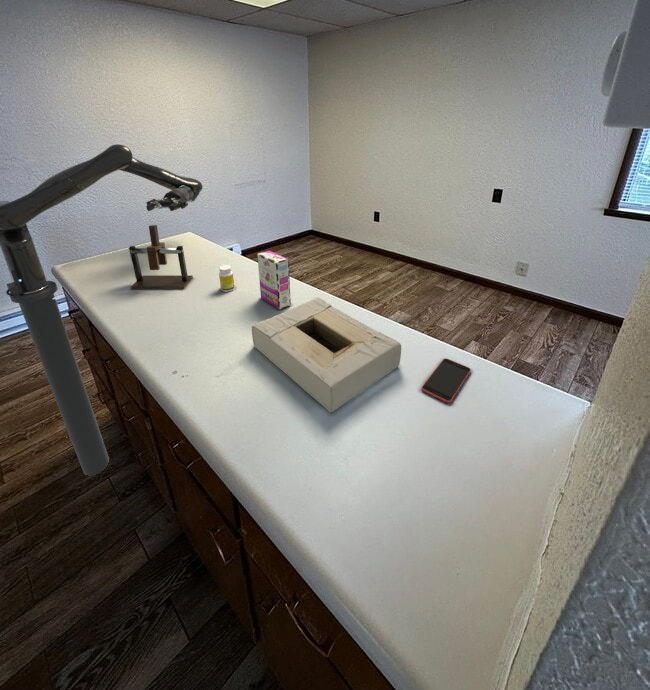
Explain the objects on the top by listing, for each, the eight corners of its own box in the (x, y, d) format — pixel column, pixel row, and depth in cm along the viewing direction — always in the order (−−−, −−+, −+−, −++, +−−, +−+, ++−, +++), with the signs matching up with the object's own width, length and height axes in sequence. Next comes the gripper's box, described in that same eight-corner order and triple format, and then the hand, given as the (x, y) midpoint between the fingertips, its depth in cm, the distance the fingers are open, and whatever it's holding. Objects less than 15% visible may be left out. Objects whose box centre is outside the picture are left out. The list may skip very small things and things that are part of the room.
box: (401, 366, 90) (317, 315, 112) (403, 340, 86) (316, 293, 108) (333, 417, 75) (252, 347, 97) (333, 389, 72) (249, 323, 94)
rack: (184, 289, 129) (177, 251, 123) (131, 289, 129) (122, 251, 124) (193, 278, 137) (187, 242, 131) (143, 278, 137) (135, 242, 132)
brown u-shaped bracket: (158, 270, 126) (152, 227, 122) (149, 270, 126) (143, 227, 122) (167, 263, 133) (161, 223, 129) (159, 263, 133) (153, 223, 129)
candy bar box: (291, 305, 118) (289, 258, 111) (279, 310, 115) (276, 263, 108) (272, 293, 125) (269, 249, 119) (260, 298, 122) (256, 253, 116)
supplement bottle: (236, 289, 128) (234, 268, 125) (223, 293, 126) (221, 271, 122) (231, 284, 132) (229, 263, 129) (219, 288, 129) (216, 266, 126)
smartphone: (472, 368, 87) (450, 402, 77) (471, 370, 88) (450, 404, 78) (444, 357, 91) (420, 388, 81) (444, 358, 92) (419, 390, 82)
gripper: (158, 189, 148) (138, 198, 133) (192, 189, 147) (176, 198, 132) (161, 207, 151) (142, 218, 136) (195, 207, 150) (179, 218, 135)
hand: (159, 208), depth 134 cm, fingers open, 8 cm apart
